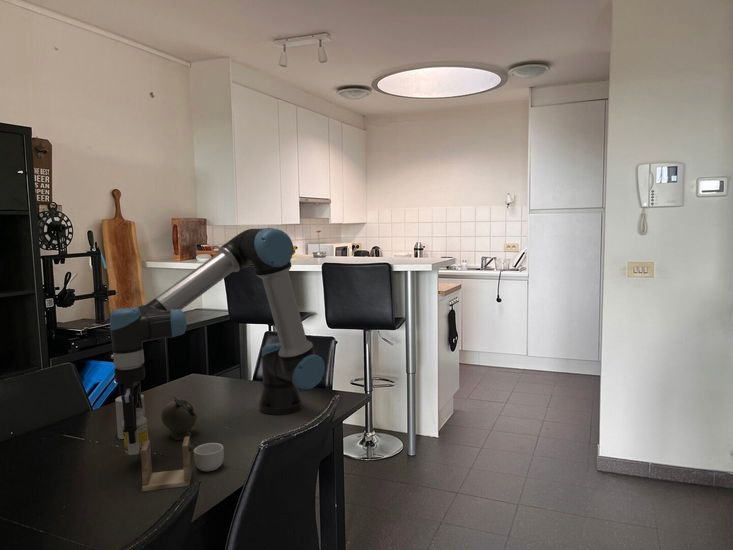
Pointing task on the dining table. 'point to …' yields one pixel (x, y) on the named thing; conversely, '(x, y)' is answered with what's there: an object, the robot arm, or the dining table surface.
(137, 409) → the pill bottle
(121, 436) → the white cylinder
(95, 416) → the dining table surface
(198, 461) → the teacup
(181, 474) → the holder
